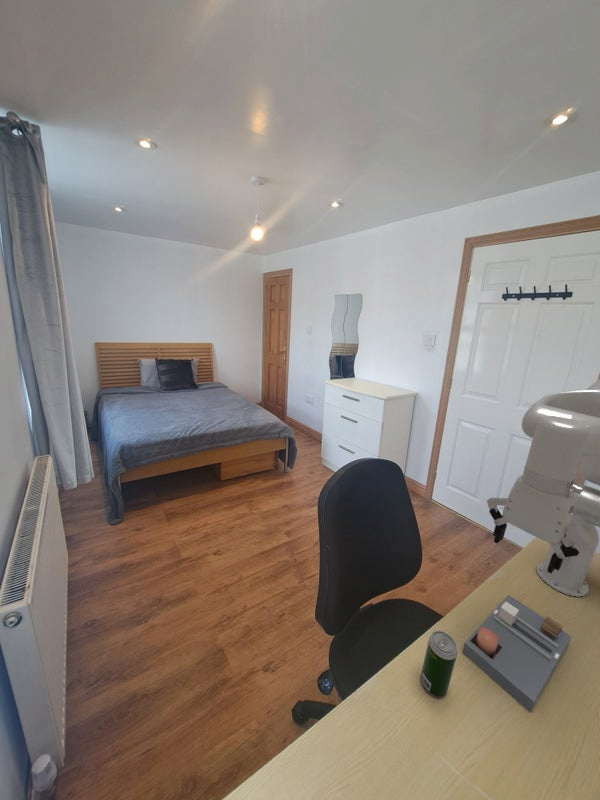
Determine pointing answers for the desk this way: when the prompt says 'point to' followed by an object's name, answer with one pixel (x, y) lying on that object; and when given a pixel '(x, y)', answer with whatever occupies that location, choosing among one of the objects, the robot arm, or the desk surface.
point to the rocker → (552, 626)
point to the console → (519, 653)
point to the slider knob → (508, 613)
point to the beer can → (438, 663)
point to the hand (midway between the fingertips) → (523, 554)
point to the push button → (487, 641)
